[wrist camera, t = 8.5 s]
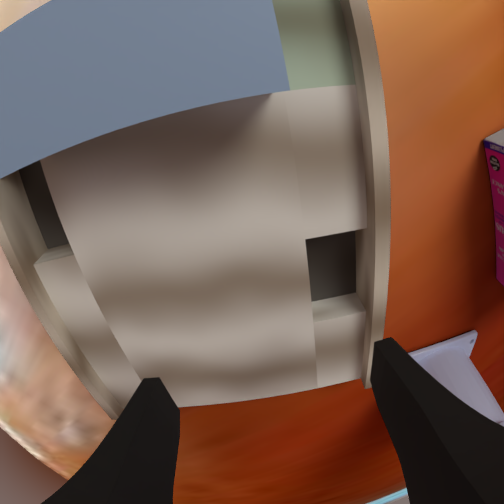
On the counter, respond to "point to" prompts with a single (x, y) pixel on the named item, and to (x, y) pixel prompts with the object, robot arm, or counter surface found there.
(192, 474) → the counter surface
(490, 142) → the supplement box
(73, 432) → the counter surface
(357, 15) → the trap tray
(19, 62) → the block
